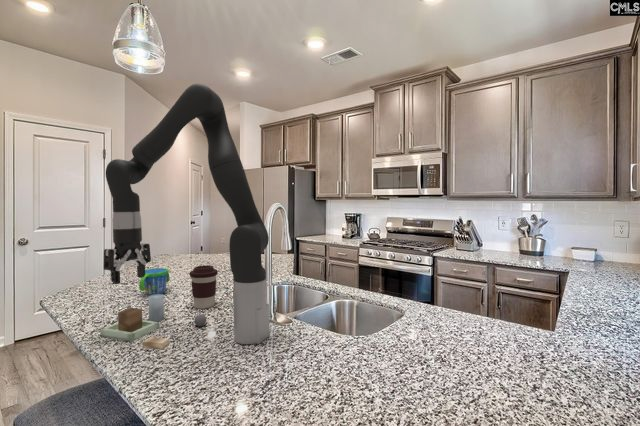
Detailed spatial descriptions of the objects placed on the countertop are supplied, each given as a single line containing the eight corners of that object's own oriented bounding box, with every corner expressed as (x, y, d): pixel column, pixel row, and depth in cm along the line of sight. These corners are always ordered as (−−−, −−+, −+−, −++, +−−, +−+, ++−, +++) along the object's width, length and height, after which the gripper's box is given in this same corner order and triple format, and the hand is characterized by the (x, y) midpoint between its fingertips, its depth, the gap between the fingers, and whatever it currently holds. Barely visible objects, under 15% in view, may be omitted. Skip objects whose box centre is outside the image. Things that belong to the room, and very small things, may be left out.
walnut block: (142, 328, 102) (142, 309, 102) (129, 333, 98) (129, 313, 98) (131, 326, 104) (130, 307, 103) (118, 331, 99) (117, 312, 99)
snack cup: (149, 300, 133) (149, 275, 133) (130, 297, 137) (129, 273, 136) (178, 290, 148) (178, 267, 147) (160, 288, 151) (159, 266, 151)
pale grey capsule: (167, 318, 113) (166, 294, 112) (156, 322, 108) (155, 298, 108) (156, 316, 114) (156, 293, 114) (145, 321, 110) (145, 297, 110)
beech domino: (169, 345, 92) (168, 338, 92) (161, 350, 89) (161, 343, 89) (150, 344, 93) (149, 337, 93) (142, 348, 90) (142, 341, 90)
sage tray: (158, 328, 103) (158, 322, 103) (131, 341, 94) (130, 334, 94) (129, 324, 107) (129, 317, 107) (100, 335, 98) (100, 329, 98)
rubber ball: (208, 324, 107) (208, 313, 106) (201, 328, 103) (201, 317, 103) (199, 323, 108) (199, 312, 108) (192, 327, 104) (191, 316, 104)
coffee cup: (184, 307, 123) (183, 268, 123) (205, 300, 132) (204, 263, 132) (203, 312, 119) (203, 270, 118) (223, 304, 128) (223, 265, 127)
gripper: (115, 229, 91) (117, 287, 92) (155, 225, 105) (157, 275, 105) (95, 228, 94) (97, 285, 94) (137, 225, 107) (139, 274, 108)
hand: (129, 280), depth 100 cm, fingers open, 8 cm apart
